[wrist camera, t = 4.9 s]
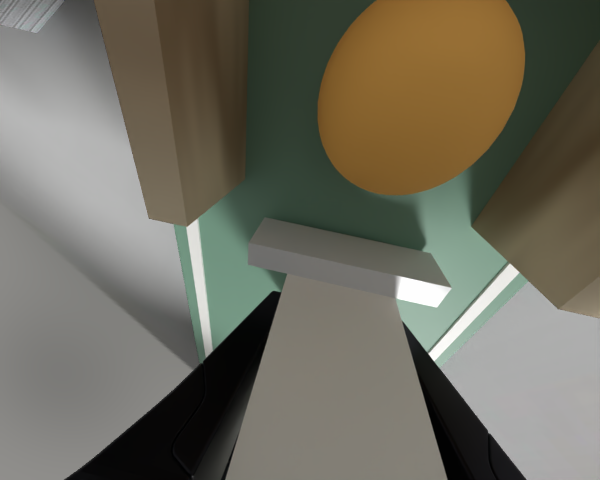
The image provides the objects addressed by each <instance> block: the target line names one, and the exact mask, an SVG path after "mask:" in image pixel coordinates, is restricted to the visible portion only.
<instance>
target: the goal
mask: <svg viewBox="0 0 600 480" xmlns="http://www.w3.org/2000/svg"><path fill="white" fill-rule="evenodd" d="M94 3H95V7H96V11H97V15H98V19H99V23H100V27H101V31H102V35H103V39H104V43H105V47H106V51H107V55H108V59H109V63H110V67H111V71H112V75H113V79H114V82H115V86H116V90H117V94H118V98H119V102H120V106H121V110H122V114H123V118H124V122H125V126H126V130H127V134H128V138H129V142H130V146H131V150H132V154H133V158H134V161H135V165H136V169H137V173H138V177H139V181H140V185H141V189H142V193H143V197H144V201H145V205H146V209H147V213H148V217H149V219H153V220H158V221H162V222H167V223H171V224H176V225H180V226H185V227H188V226H189V225H190V224H192V223H193V222H194V221H195V220H196V219H198V218H199V217H200V216H201V215H202V214H204V213H205V212H206V211H207V210H208V209H210V208H211V207H212V206H213V205H215V204H216V203H217V202H218V201H219V200H221V199H222V198H223V197H224V196H225V195H227V194H228V193H229V192H230V191H231V190H233V189H234V188H235V187H236V186H238V185H239V184H240V183H241V182H242V181H244V180H245V165H246V118H247V70H248V23H249V0H94ZM471 227H472V228H473V229H474V230H475V231H476V232H477V233H478V234H479V235H480V236H481V237H483V238H484V239H485V240H486V241H487V242H488V243H489V244H490V245H491V246H492V247H493V248H494V249H495V250H496V251H497V252H498V253H499V254H501V255H502V256H503V257H504V258H505V259H506V260H507V261H508V262H509V263H510V264H511V265H512V266H513V267H514V268H515V269H516V270H517V271H519V272H520V273H521V274H522V275H523V276H524V277H525V278H526V279H527V280H528V281H529V282H530V283H531V284H532V285H533V286H534V287H535V288H537V289H538V290H539V291H540V292H541V293H542V294H543V295H544V296H545V297H546V298H547V299H548V300H549V301H550V302H551V303H552V304H553V305H555V306H556V307H557V308H558V309H560V310H564V311H569V312H573V313H578V314H582V315H587V316H592V317H596V318H600V40H599V42H598V43H597V45H596V46H595V47H594V49H593V50H592V52H591V53H590V55H589V56H588V58H587V59H586V61H585V62H584V63H583V65H582V66H581V68H580V69H579V71H578V72H577V74H576V75H575V76H574V78H573V79H572V81H571V82H570V84H569V85H568V87H567V88H566V90H565V91H564V92H563V94H562V95H561V97H560V98H559V100H558V101H557V103H556V104H555V106H554V107H553V108H552V110H551V111H550V113H549V114H548V116H547V117H546V119H545V120H544V122H543V123H542V124H541V126H540V127H539V129H538V130H537V132H536V133H535V135H534V136H533V137H532V139H531V140H530V142H529V143H528V145H527V146H526V148H525V149H524V151H523V152H522V153H521V155H520V156H519V158H518V159H517V161H516V162H515V164H514V165H513V167H512V168H511V169H510V171H509V172H508V174H507V175H506V177H505V178H504V180H503V181H502V182H501V184H500V185H499V187H498V188H497V190H496V191H495V193H494V194H493V196H492V197H491V198H490V200H489V201H488V203H487V204H486V206H485V207H484V209H483V210H482V212H481V213H480V214H479V216H478V217H477V219H476V220H475V222H474V223H473V225H472V226H471Z"/></svg>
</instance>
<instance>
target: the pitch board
mask: <svg viewBox="0 0 600 480" xmlns="http://www.w3.org/2000/svg"><path fill="white" fill-rule="evenodd" d="M375 1H376V0H249V23H248V70H247V118H246V165H245V180H244V181H242V182H241V183H240V184H239V185H238V186H236V187H235V188H234V189H233V190H231V191H230V192H229V193H228V194H227V195H225V196H224V197H223V198H222V199H221V200H219V201H218V202H217V203H216V204H215V205H213V206H212V207H211V208H210V209H208V210H207V211H206V212H205V213H204V214H202V215H201V216H200V217H199V218H198V219H196V220H195V221H194V222H193V223H192V224H190V225H189V226H188V227H185V226H180V225H176V224H174V229H175V234H176V239H177V245H178V250H179V256H180V261H181V266H182V272H183V277H184V283H185V288H186V293H187V299H188V304H189V310H190V315H191V320H192V326H193V331H194V337H195V342H196V347H197V353H198V358H199V363H203V360H204V359H205V358H206V357H207V356H208V355H209V354H210V353H211V352H212V351H213V350H214V349H215V348H216V347H217V346H218V345H219V344H220V343H221V342H222V341H223V340H224V339H225V338H226V337H227V336H228V335H229V334H230V333H231V332H232V331H233V330H234V329H235V328H236V327H237V326H238V325H239V324H240V323H241V322H242V321H243V320H244V319H245V318H246V317H247V316H248V315H249V314H250V313H251V312H252V311H253V310H254V309H255V308H256V307H257V306H258V305H259V304H260V303H261V302H262V301H263V300H264V299H265V298H266V297H267V296H268V295H269V294H270V293H271V292H272V291H278V292H282V289H283V286H284V283H285V279H286V276H287V274H286V273H282V272H277V271H273V270H268V269H264V268H260V267H255V266H251V265H248V243H249V241H250V240H251V238H252V237H253V235H254V233H255V232H256V230H257V229H258V227H259V226H260V224H261V223H262V221H263V219H264V218H265V217H266V218H271V219H276V220H280V221H285V222H289V223H294V224H299V225H303V226H308V227H313V228H317V229H322V230H326V231H331V232H336V233H340V234H345V235H349V236H354V237H359V238H363V239H368V240H373V241H377V242H382V243H386V244H391V245H396V246H400V247H405V248H410V249H414V250H419V251H423V252H428V253H431V254H432V256H433V258H434V259H435V261H436V262H437V264H438V266H439V267H440V269H441V271H442V272H443V274H444V276H445V277H446V279H447V281H448V282H449V284H450V285H451V287H452V289H451V290H450V291H449V292H448V294H447V295H446V296H445V298H444V299H443V300H442V302H441V303H440V304H439V305H438V307H432V306H428V305H423V304H419V303H415V302H410V301H406V300H401V299H397V298H395V299H396V302H397V306H398V309H399V313H400V316H401V320H402V321H403V322H404V323H405V324H406V326H407V327H408V328H409V329H410V331H411V332H412V333H413V335H414V336H415V337H416V339H417V340H418V341H419V342H420V344H421V345H422V346H423V348H424V349H425V350H426V351H427V353H428V354H429V355H430V357H431V358H432V359H433V360H434V362H435V363H436V364H437V366H438V367H439V368H440V367H441V366H442V365H443V364H444V363H445V362H446V361H447V360H448V359H449V358H450V357H451V356H452V355H453V354H454V353H455V352H456V351H458V350H459V349H460V348H461V347H462V346H463V345H464V344H465V343H466V342H467V341H468V340H469V339H470V338H471V337H472V336H473V335H474V334H475V333H476V332H477V331H478V330H479V329H480V328H481V327H482V326H483V325H484V324H485V323H486V322H487V321H488V320H489V319H490V318H491V317H492V316H493V315H494V314H495V313H496V312H497V311H498V310H499V309H500V308H501V307H502V306H503V305H504V304H506V303H507V302H508V301H509V300H510V299H511V298H512V297H513V296H514V295H515V294H516V293H517V292H518V291H519V290H520V289H521V288H522V287H523V286H524V285H525V284H526V283H527V282H528V280H527V279H526V278H525V277H524V276H523V275H522V274H521V273H520V272H519V271H517V270H516V269H515V268H514V267H513V266H512V265H511V264H510V263H509V262H508V261H507V260H506V259H505V258H504V257H503V256H502V255H501V254H499V253H498V252H497V251H496V250H495V249H494V248H493V247H492V246H491V245H490V244H489V243H488V242H487V241H486V240H485V239H484V238H483V237H481V236H480V235H479V234H478V233H477V232H476V231H475V230H474V229H473V228H472V227H471V226H472V225H473V223H474V222H475V220H476V219H477V217H478V216H479V214H480V213H481V212H482V210H483V209H484V207H485V206H486V204H487V203H488V201H489V200H490V198H491V197H492V196H493V194H494V193H495V191H496V190H497V188H498V187H499V185H500V184H501V182H502V181H503V180H504V178H505V177H506V175H507V174H508V172H509V171H510V169H511V168H512V167H513V165H514V164H515V162H516V161H517V159H518V158H519V156H520V155H521V153H522V152H523V151H524V149H525V148H526V146H527V145H528V143H529V142H530V140H531V139H532V137H533V136H534V135H535V133H536V132H537V130H538V129H539V127H540V126H541V124H542V123H543V122H544V120H545V119H546V117H547V116H548V114H549V113H550V111H551V110H552V108H553V107H554V106H555V104H556V103H557V101H558V100H559V98H560V97H561V95H562V94H563V92H564V91H565V90H566V88H567V87H568V85H569V84H570V82H571V81H572V79H573V78H574V76H575V75H576V74H577V72H578V71H579V69H580V68H581V66H582V65H583V63H584V62H585V61H586V59H587V58H588V56H589V55H590V53H591V52H592V50H593V49H594V47H595V46H596V45H597V43H598V42H599V40H600V0H506V1H507V3H508V4H509V5H510V7H511V9H512V10H513V12H514V14H515V16H516V17H517V20H518V22H519V24H520V27H521V31H522V34H523V41H524V49H525V67H524V76H523V81H522V86H521V90H520V93H519V96H518V99H517V102H516V104H515V107H514V110H513V111H512V113H511V115H510V117H509V119H508V121H507V123H506V125H505V127H504V128H503V130H502V131H501V133H500V134H499V135H498V137H497V138H496V139H495V141H494V142H493V143H492V145H491V146H490V147H489V149H488V150H487V151H486V152H485V153H484V154H483V155H482V156H481V157H480V158H479V159H478V160H477V161H476V162H475V163H474V164H472V165H471V166H470V167H468V168H467V169H466V170H464V171H463V172H462V173H460V174H459V175H457V176H456V177H455V178H453V179H451V180H449V181H447V182H445V183H443V184H441V185H439V186H437V187H434V188H432V189H429V190H426V191H422V192H418V193H414V194H408V195H383V194H377V193H373V192H370V191H367V190H364V189H362V188H360V187H358V186H356V185H354V184H353V183H351V182H350V181H348V180H347V179H346V178H345V177H343V176H342V175H341V174H340V173H339V172H338V171H337V169H336V168H335V167H334V166H333V164H332V163H331V161H330V159H329V158H328V156H327V154H326V152H325V149H324V147H323V145H322V141H321V137H320V133H319V127H318V98H319V91H320V86H321V82H322V78H323V75H324V72H325V69H326V66H327V64H328V61H329V59H330V57H331V55H332V53H333V51H334V49H335V47H336V46H337V44H338V42H339V41H340V39H341V38H342V36H343V35H344V33H345V32H346V31H347V29H348V28H349V27H350V25H351V24H352V23H353V22H354V21H355V20H356V19H357V17H358V16H359V15H360V14H361V13H362V12H363V11H365V10H366V9H367V8H368V7H369V6H370V5H371V4H372V3H374V2H375Z"/></svg>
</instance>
